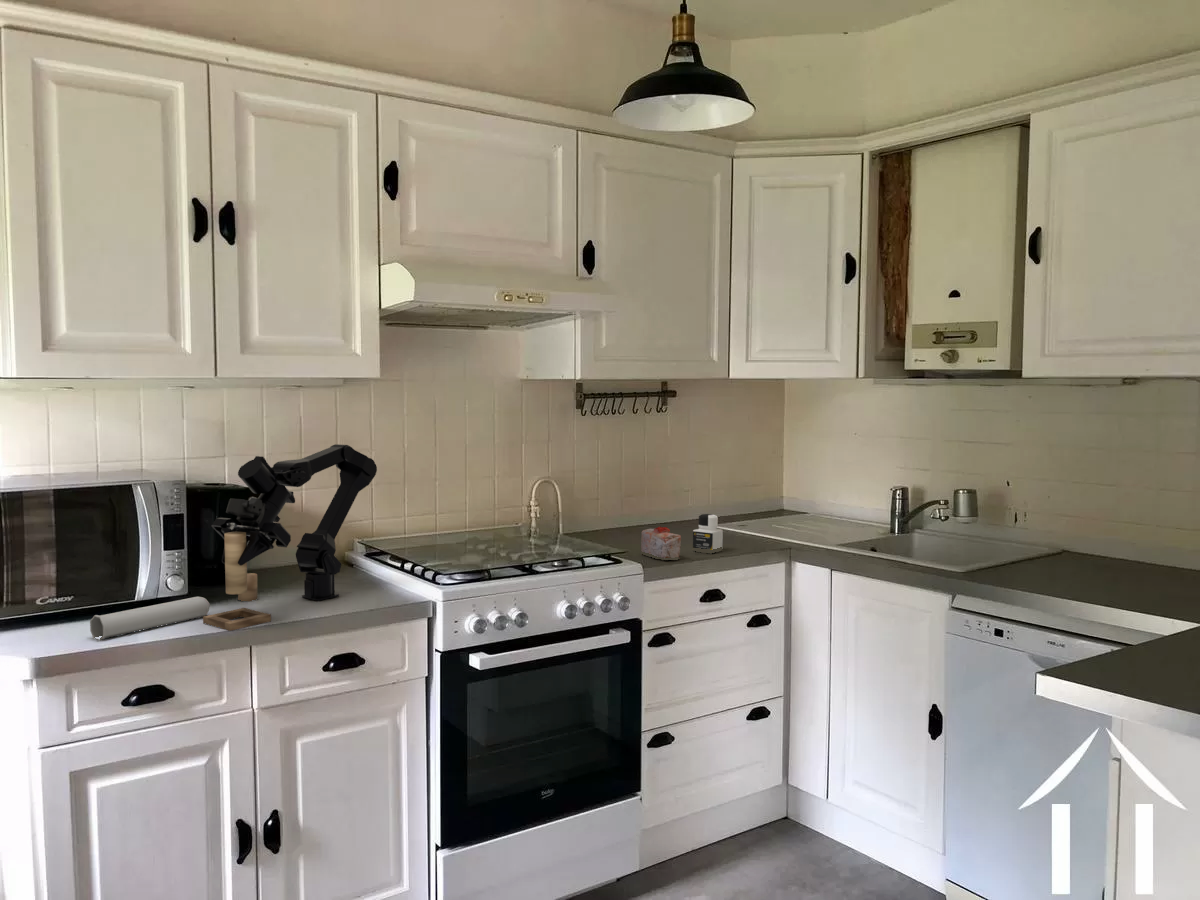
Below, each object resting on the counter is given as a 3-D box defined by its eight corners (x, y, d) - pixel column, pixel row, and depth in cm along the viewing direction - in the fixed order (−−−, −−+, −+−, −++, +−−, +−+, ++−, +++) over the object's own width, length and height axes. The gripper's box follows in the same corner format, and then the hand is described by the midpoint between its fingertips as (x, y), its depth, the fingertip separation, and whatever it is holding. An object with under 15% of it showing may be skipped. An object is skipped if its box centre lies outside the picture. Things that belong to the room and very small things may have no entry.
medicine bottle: (692, 552, 293) (693, 514, 292) (703, 548, 299) (703, 512, 298) (712, 554, 289) (713, 516, 288) (722, 551, 295) (723, 514, 294)
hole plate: (244, 614, 209) (243, 607, 209) (270, 621, 203) (270, 614, 203) (203, 623, 201) (203, 616, 201) (229, 630, 195) (229, 623, 195)
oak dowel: (231, 589, 204) (230, 531, 203) (250, 589, 204) (249, 531, 203) (222, 594, 199) (220, 534, 198) (241, 594, 199) (240, 535, 198)
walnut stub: (250, 596, 226) (250, 572, 226) (261, 599, 224) (260, 574, 223) (234, 599, 223) (233, 575, 222) (245, 602, 220) (244, 577, 220)
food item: (684, 560, 279) (685, 528, 278) (663, 563, 274) (664, 530, 273) (656, 553, 290) (657, 522, 289) (636, 556, 285) (637, 524, 285)
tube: (198, 596, 210) (87, 617, 189) (211, 591, 207) (100, 613, 186) (202, 619, 209) (92, 643, 188) (216, 615, 207) (106, 639, 186)
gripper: (217, 482, 207) (177, 538, 198) (280, 486, 199) (242, 545, 190) (244, 512, 215) (207, 567, 206) (306, 517, 207) (271, 575, 198)
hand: (231, 563), depth 200 cm, fingers closed on oak dowel, 4 cm apart
